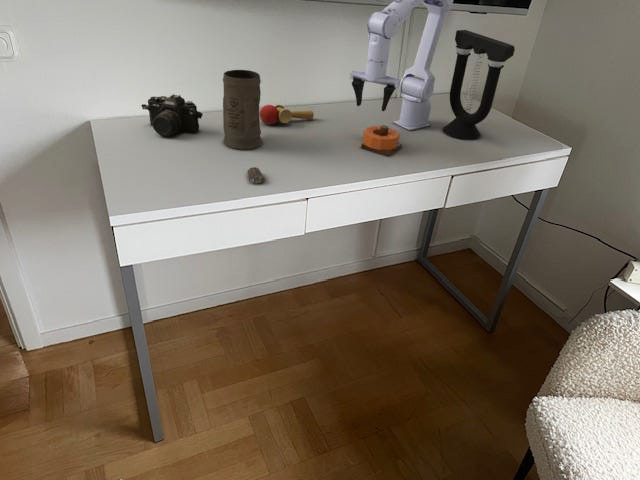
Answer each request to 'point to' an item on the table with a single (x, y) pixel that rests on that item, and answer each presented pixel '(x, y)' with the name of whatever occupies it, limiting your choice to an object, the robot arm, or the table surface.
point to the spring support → (497, 56)
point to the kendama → (282, 114)
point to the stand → (384, 152)
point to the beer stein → (241, 109)
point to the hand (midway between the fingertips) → (371, 107)
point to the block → (255, 175)
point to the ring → (380, 138)
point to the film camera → (172, 115)
